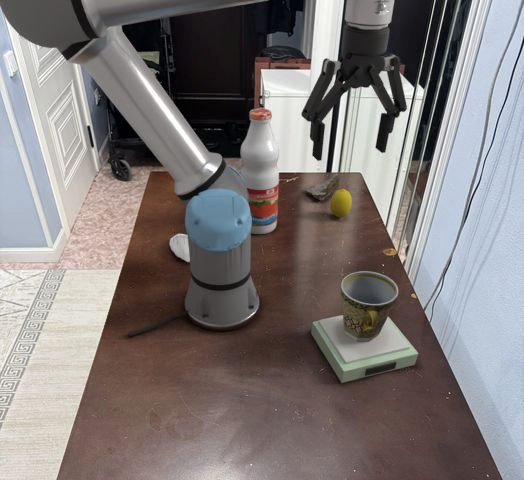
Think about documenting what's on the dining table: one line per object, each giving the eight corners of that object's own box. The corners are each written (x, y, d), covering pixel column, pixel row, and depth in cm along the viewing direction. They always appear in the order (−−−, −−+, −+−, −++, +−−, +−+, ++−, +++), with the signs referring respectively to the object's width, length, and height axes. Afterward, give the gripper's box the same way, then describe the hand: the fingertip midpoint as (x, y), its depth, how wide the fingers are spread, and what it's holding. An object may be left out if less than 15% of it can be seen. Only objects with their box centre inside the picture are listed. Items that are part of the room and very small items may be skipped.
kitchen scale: (342, 384, 88) (345, 370, 85) (310, 333, 97) (312, 319, 95) (415, 366, 91) (420, 352, 89) (378, 318, 101) (381, 305, 99)
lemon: (348, 223, 129) (353, 195, 124) (327, 221, 130) (331, 192, 125) (350, 213, 133) (354, 185, 128) (329, 211, 134) (333, 183, 129)
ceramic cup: (332, 312, 96) (338, 270, 90) (383, 314, 96) (393, 271, 90) (337, 359, 87) (345, 315, 80) (394, 361, 87) (407, 317, 80)
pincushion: (202, 261, 115) (200, 240, 111) (176, 266, 113) (173, 244, 110) (190, 236, 123) (188, 215, 119) (166, 240, 122) (163, 219, 118)
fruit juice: (265, 214, 132) (268, 102, 113) (283, 229, 126) (290, 114, 107) (234, 222, 129) (231, 108, 110) (251, 238, 123) (252, 121, 104)
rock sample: (311, 171, 143) (328, 159, 136) (329, 188, 146) (347, 178, 138) (294, 197, 141) (311, 187, 133) (313, 215, 143) (331, 206, 135)
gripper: (305, 33, 75) (296, 169, 90) (445, 25, 81) (415, 154, 96) (288, 23, 80) (281, 153, 95) (420, 16, 86) (395, 140, 101)
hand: (349, 154), depth 95 cm, fingers open, 13 cm apart
